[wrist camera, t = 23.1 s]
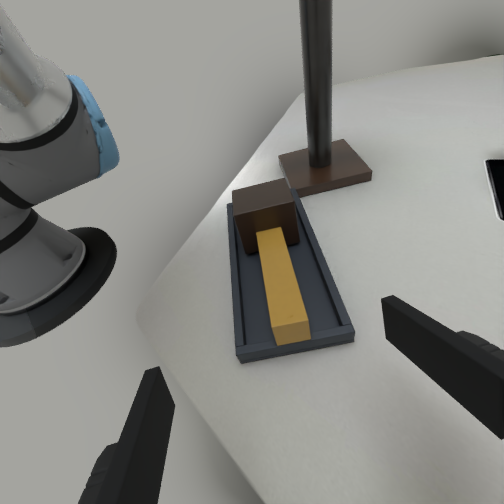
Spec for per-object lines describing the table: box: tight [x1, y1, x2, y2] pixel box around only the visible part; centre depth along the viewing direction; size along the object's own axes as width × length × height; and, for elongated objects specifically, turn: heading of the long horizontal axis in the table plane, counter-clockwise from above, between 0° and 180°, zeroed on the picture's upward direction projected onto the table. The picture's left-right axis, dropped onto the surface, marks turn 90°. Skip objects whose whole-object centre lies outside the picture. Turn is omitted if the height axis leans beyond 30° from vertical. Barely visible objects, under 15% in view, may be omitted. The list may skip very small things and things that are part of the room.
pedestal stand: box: [278, 0, 372, 197], centre depth 33 cm, size 12×12×30 cm
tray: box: [227, 188, 355, 363], centre depth 32 cm, size 24×11×2 cm, turn 6°
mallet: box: [232, 178, 311, 346], centre depth 28 cm, size 19×7×6 cm, turn 6°
